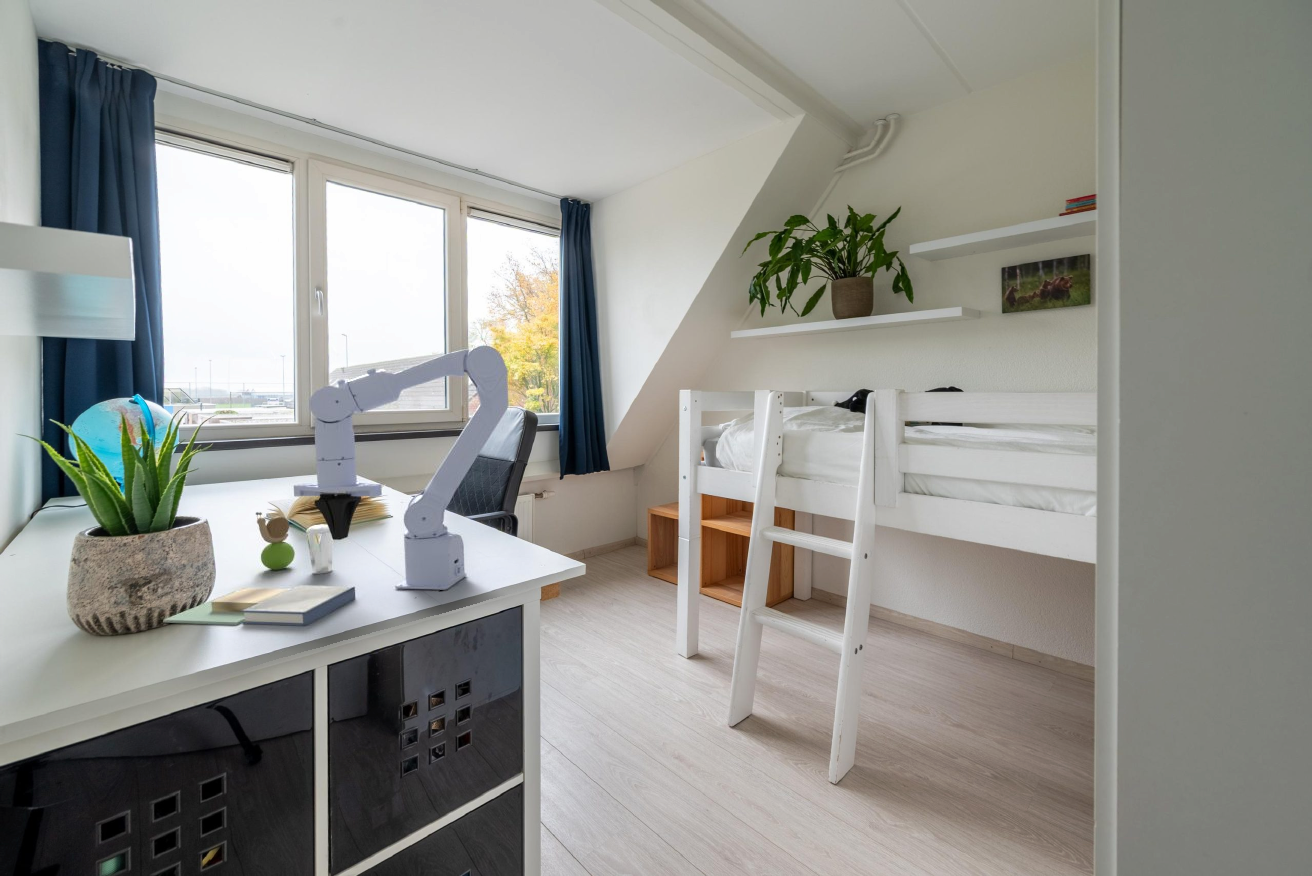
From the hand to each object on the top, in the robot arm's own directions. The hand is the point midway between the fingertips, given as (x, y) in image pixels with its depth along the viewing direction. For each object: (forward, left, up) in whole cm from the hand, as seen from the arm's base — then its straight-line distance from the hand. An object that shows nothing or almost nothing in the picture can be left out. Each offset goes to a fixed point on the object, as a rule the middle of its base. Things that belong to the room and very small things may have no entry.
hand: (340, 538), depth 92 cm
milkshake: (+12, -11, -10) cm, 19 cm away
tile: (+10, +7, -9) cm, 15 cm away
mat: (+12, +8, -9) cm, 18 cm away
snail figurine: (+22, -11, -10) cm, 26 cm away
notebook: (+1, +8, -9) cm, 12 cm away
